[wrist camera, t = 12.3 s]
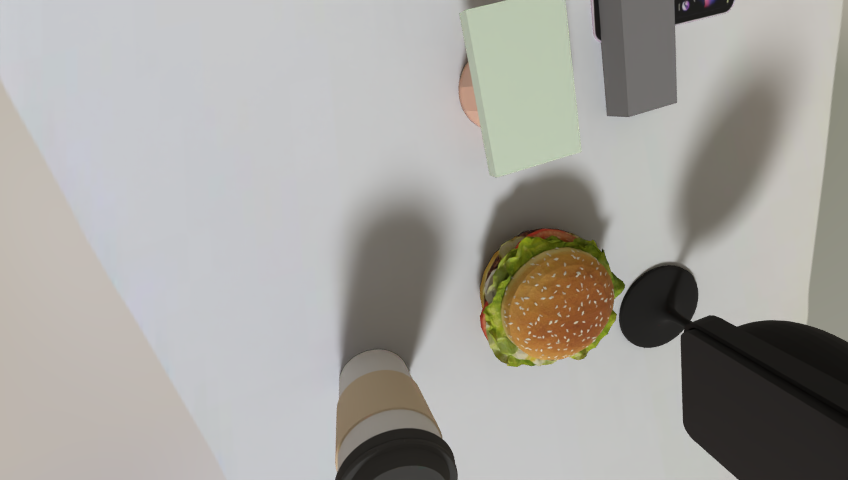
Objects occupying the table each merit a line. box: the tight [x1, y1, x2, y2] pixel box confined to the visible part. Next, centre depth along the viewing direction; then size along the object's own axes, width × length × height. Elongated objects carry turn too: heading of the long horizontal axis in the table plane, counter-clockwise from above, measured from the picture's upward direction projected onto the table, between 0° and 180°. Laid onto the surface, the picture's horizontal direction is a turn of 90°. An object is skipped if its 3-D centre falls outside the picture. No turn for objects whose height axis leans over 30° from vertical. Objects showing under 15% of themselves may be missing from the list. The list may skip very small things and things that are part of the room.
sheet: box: [459, 0, 582, 178], centre depth 33 cm, size 12×8×1 cm, turn 14°
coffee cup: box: [335, 349, 458, 480], centre depth 36 cm, size 9×9×15 cm
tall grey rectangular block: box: [599, 0, 677, 117], centre depth 38 cm, size 10×5×3 cm, turn 14°
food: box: [480, 229, 625, 367], centre depth 41 cm, size 14×14×8 cm
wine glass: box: [619, 265, 848, 385], centre depth 40 cm, size 10×10×20 cm
